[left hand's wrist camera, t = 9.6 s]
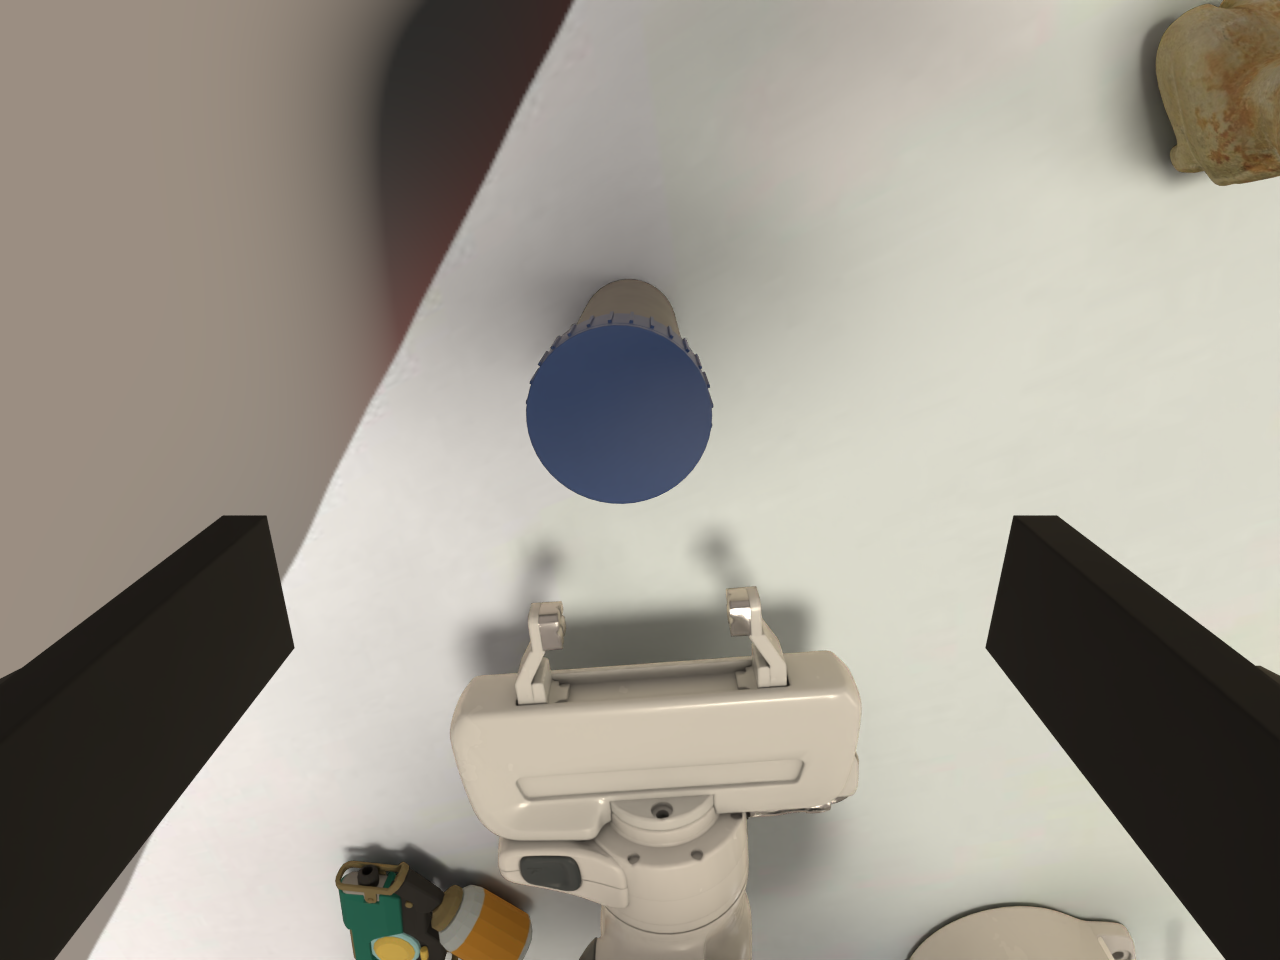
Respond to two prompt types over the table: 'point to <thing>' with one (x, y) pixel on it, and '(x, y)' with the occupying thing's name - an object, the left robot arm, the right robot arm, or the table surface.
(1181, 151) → the sculpture
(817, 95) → the table surface
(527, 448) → the table surface
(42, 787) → the left robot arm
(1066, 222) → the table surface
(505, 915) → the spray gun
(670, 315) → the jar
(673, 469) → the lid
